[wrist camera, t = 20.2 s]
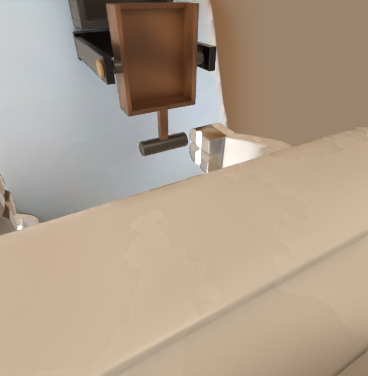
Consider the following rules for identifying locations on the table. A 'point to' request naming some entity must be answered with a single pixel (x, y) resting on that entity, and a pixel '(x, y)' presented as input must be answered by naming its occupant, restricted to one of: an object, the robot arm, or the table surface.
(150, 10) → the brown tilting tray
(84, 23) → the basket
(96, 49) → the stand
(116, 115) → the table surface
